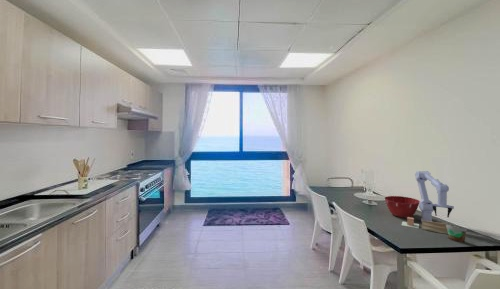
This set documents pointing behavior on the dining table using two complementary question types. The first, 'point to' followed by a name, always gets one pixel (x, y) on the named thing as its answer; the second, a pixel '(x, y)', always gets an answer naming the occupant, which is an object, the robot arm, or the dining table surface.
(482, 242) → the dining table surface
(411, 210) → the mixing bowl
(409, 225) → the mat
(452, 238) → the food container
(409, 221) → the block
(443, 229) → the crate
